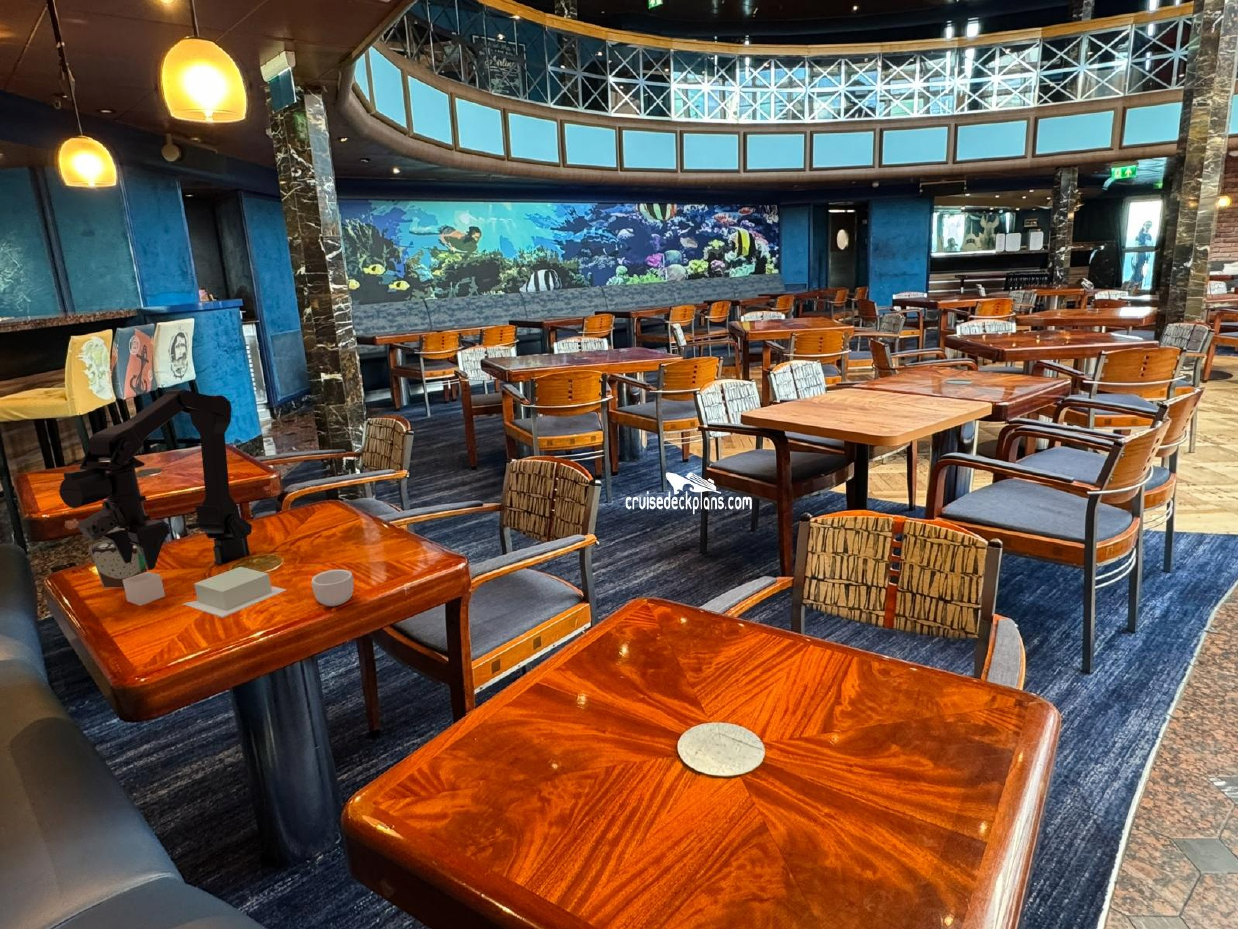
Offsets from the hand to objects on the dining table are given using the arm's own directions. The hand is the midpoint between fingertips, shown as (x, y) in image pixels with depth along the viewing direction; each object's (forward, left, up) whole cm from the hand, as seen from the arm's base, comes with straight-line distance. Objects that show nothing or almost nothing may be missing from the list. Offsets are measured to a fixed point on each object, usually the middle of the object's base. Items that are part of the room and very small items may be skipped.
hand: (139, 566), depth 152 cm
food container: (-5, -16, -9) cm, 19 cm away
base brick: (-9, +17, -7) cm, 21 cm away
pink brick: (0, 0, -9) cm, 9 cm away
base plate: (-9, +17, -8) cm, 21 cm away
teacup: (-18, +36, -9) cm, 41 cm away
